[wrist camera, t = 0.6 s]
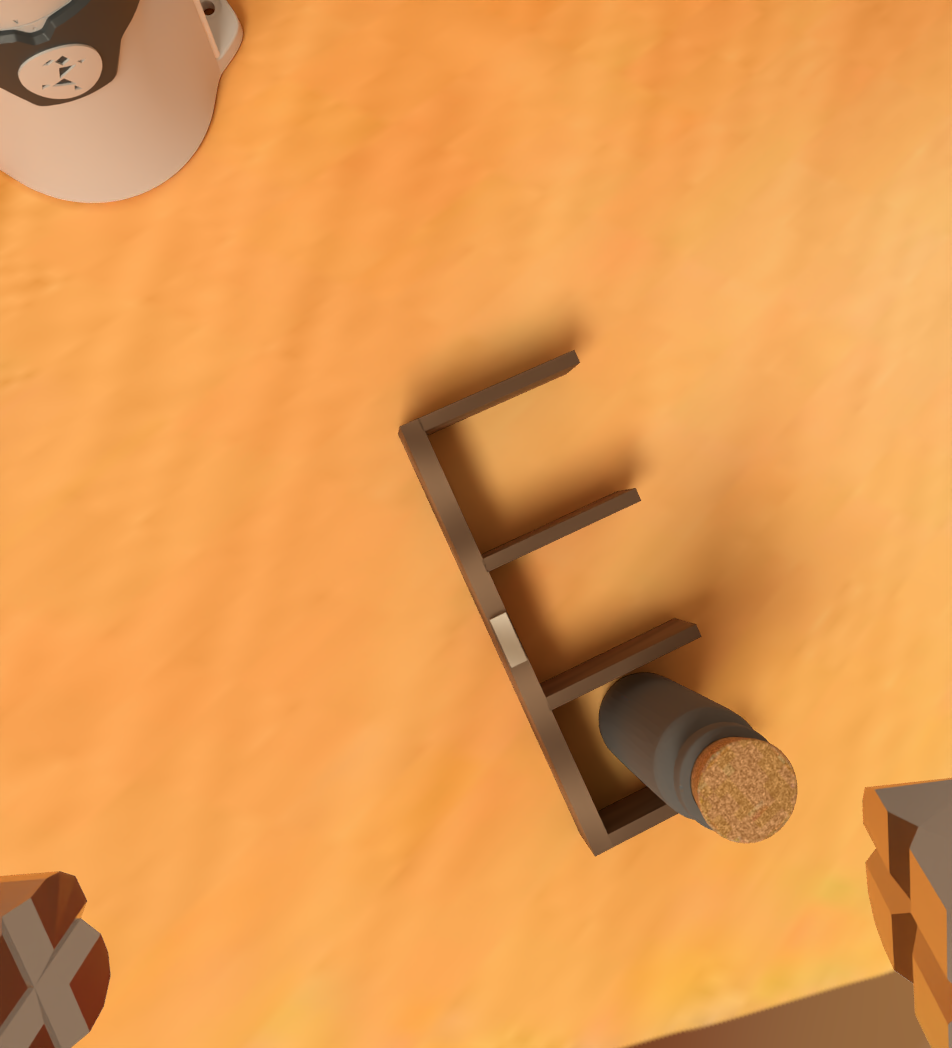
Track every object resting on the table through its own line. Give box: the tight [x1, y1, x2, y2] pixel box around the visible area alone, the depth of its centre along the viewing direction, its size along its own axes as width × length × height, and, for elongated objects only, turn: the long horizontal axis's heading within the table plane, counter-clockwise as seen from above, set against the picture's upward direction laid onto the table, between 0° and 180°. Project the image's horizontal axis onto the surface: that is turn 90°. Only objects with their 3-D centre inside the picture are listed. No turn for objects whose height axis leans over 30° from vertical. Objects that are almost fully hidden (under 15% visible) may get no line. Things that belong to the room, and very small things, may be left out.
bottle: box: [599, 673, 797, 843], centre depth 45 cm, size 6×6×15 cm
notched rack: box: [398, 350, 701, 856], centre depth 50 cm, size 27×11×4 cm, turn 24°
